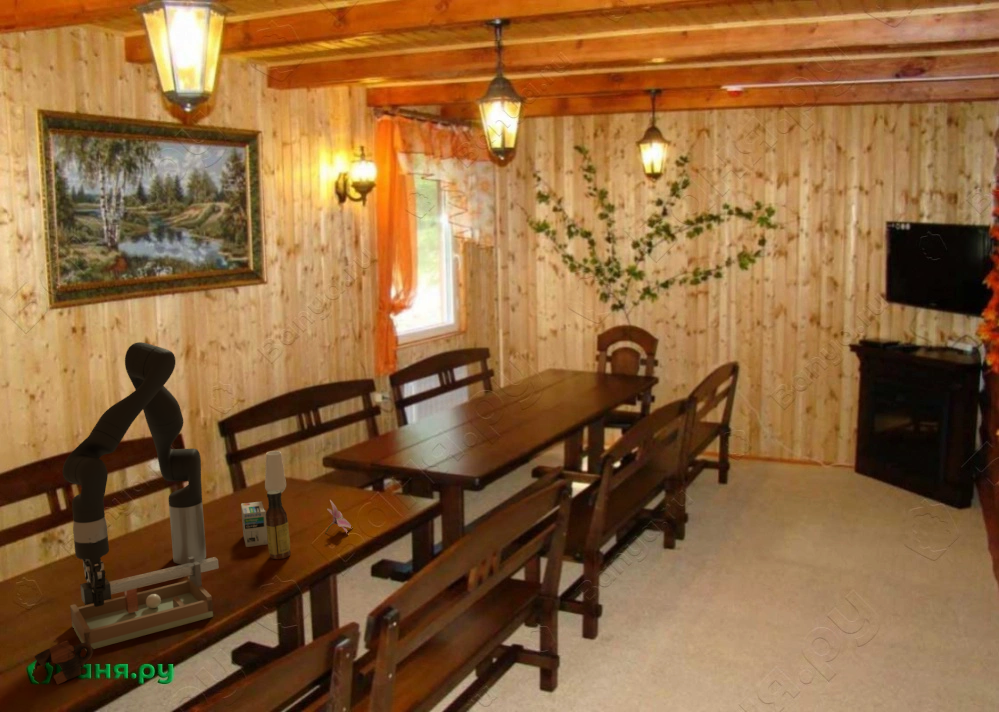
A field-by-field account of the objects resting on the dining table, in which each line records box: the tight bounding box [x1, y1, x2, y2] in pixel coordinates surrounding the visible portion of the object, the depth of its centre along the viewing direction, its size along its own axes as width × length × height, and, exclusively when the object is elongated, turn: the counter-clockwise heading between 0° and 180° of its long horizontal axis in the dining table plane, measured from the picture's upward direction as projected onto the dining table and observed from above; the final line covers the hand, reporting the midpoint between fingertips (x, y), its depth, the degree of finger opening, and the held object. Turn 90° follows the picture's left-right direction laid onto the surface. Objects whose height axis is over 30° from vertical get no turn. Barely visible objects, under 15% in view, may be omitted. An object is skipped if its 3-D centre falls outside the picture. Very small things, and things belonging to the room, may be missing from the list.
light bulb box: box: [240, 501, 268, 548], centre depth 284 cm, size 11×7×11 cm, turn 20°
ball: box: [146, 594, 161, 609], centre depth 234 cm, size 4×4×4 cm
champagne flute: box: [264, 450, 287, 494], centre depth 296 cm, size 7×7×24 cm
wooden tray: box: [69, 556, 214, 652], centre depth 230 cm, size 16×30×12 cm, turn 125°
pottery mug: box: [34, 640, 94, 685], centre depth 206 cm, size 12×10×8 cm
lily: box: [325, 499, 352, 534], centre depth 290 cm, size 12×12×10 cm
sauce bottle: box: [266, 490, 291, 560], centre depth 270 cm, size 7×6×20 cm
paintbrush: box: [80, 556, 219, 613], centre depth 234 cm, size 4×33×9 cm, turn 125°
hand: (96, 602), depth 226 cm, fingers closed on paintbrush, 4 cm apart
